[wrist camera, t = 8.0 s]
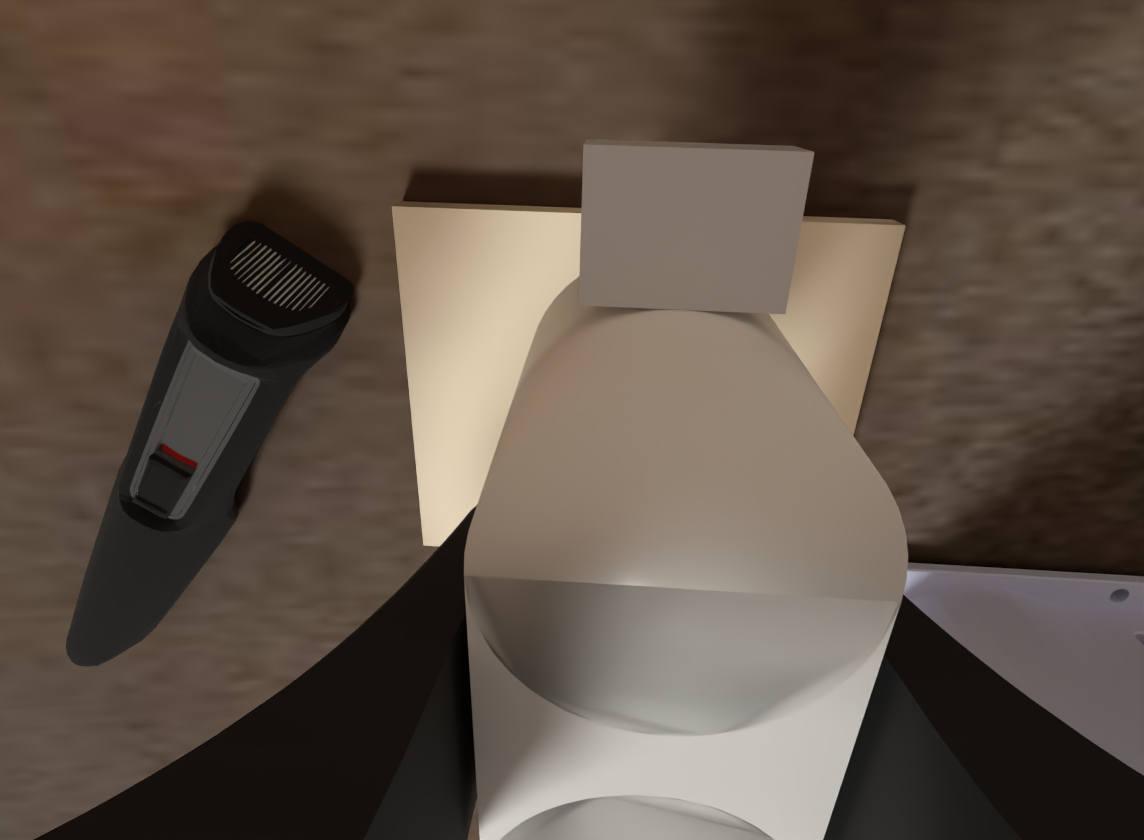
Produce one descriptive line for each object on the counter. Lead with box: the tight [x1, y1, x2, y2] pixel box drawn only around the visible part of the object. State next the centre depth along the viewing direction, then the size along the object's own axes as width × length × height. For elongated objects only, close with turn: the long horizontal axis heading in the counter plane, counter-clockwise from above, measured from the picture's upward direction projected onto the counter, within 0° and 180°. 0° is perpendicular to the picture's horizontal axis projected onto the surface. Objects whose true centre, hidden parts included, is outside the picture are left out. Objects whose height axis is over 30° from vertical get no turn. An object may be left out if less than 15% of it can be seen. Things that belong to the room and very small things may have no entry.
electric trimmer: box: [66, 221, 353, 666], centre depth 19 cm, size 4×16×3 cm, turn 145°
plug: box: [464, 139, 908, 840], centre depth 9 cm, size 11×4×5 cm, turn 178°
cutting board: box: [392, 201, 906, 546], centre depth 18 cm, size 12×10×1 cm
